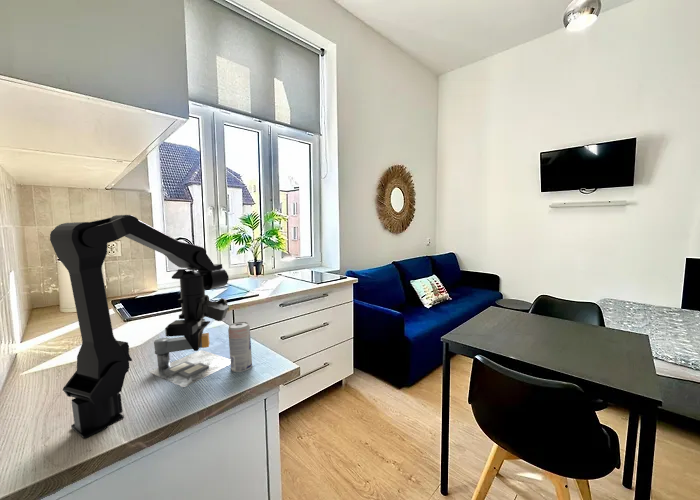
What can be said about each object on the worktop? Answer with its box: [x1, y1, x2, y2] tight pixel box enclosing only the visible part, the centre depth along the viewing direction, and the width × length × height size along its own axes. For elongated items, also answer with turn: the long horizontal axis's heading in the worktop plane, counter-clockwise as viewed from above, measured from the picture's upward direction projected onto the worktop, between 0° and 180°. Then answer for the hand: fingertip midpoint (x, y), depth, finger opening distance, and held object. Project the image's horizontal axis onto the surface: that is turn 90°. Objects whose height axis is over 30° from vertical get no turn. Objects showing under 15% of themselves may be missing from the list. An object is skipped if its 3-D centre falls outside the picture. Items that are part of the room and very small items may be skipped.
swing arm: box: [153, 332, 211, 356], centre depth 83 cm, size 13×4×3 cm, turn 109°
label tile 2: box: [164, 361, 195, 376], centre depth 81 cm, size 6×4×1 cm, turn 149°
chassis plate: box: [148, 349, 231, 389], centre depth 82 cm, size 15×16×4 cm
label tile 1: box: [178, 363, 209, 378], centre depth 80 cm, size 6×4×1 cm, turn 149°
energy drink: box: [227, 321, 253, 373], centre depth 81 cm, size 5×5×12 cm
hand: (196, 350), depth 82 cm, fingers closed
